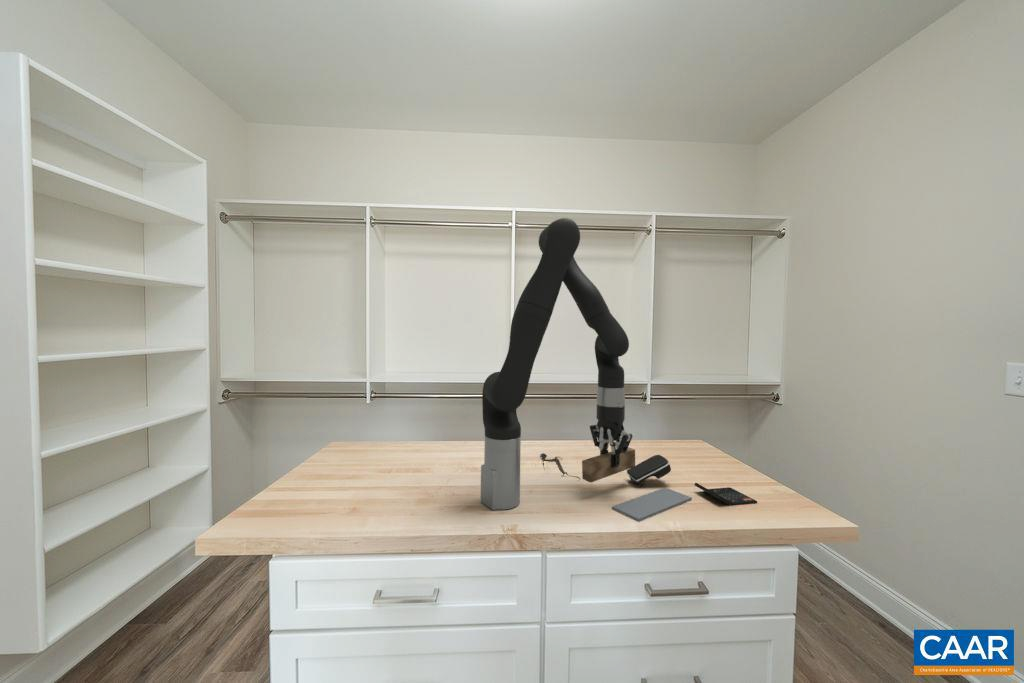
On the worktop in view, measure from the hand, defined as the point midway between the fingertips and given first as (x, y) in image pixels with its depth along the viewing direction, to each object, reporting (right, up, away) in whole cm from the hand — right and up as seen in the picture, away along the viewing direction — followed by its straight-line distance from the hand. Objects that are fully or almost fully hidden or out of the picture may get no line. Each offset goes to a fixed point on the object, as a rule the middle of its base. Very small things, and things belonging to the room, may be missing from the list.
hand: (609, 465), depth 109 cm
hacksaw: (-12, -7, +19) cm, 24 cm away
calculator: (+30, -8, -3) cm, 31 cm away
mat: (+9, -8, -8) cm, 14 cm away
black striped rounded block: (+8, -6, +6) cm, 12 cm away
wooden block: (0, -2, 0) cm, 2 cm away
